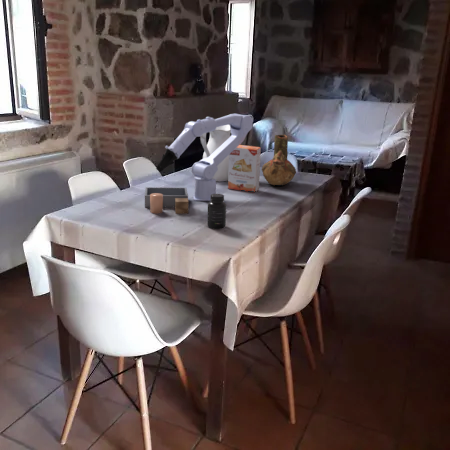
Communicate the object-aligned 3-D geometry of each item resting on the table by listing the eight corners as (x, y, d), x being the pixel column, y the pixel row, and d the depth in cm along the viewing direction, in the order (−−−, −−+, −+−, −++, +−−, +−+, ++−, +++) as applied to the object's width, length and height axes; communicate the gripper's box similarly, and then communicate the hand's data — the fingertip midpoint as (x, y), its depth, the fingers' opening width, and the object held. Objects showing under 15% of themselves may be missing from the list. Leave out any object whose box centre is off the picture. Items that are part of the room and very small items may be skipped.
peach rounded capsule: (162, 209, 195) (162, 193, 192) (162, 213, 190) (162, 196, 188) (150, 209, 194) (150, 193, 192) (150, 213, 189) (149, 196, 187)
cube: (187, 210, 196) (187, 198, 194) (188, 213, 191) (188, 201, 190) (175, 210, 195) (175, 198, 194) (175, 213, 191) (175, 201, 189)
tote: (186, 198, 212) (186, 187, 210) (187, 207, 199) (188, 195, 197) (145, 198, 209) (145, 187, 208) (144, 207, 197) (144, 195, 195)
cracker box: (227, 189, 230) (228, 146, 222) (232, 185, 235) (233, 143, 227) (255, 193, 226) (257, 149, 217) (259, 189, 231) (261, 146, 223)
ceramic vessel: (258, 190, 231) (261, 138, 223) (262, 178, 255) (266, 131, 247) (294, 193, 228) (298, 140, 220) (295, 181, 253) (299, 133, 245)
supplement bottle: (206, 223, 180) (207, 192, 177) (224, 223, 181) (226, 192, 177) (207, 229, 174) (208, 197, 170) (226, 229, 175) (227, 197, 171)
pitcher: (215, 174, 261) (216, 121, 252) (240, 179, 252) (243, 125, 243) (186, 181, 242) (187, 125, 233) (213, 187, 233) (215, 129, 224)
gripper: (170, 142, 204) (149, 165, 201) (176, 133, 190) (153, 158, 187) (182, 153, 205) (162, 176, 202) (189, 145, 191) (167, 170, 188)
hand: (159, 168), depth 195 cm, fingers open, 7 cm apart
